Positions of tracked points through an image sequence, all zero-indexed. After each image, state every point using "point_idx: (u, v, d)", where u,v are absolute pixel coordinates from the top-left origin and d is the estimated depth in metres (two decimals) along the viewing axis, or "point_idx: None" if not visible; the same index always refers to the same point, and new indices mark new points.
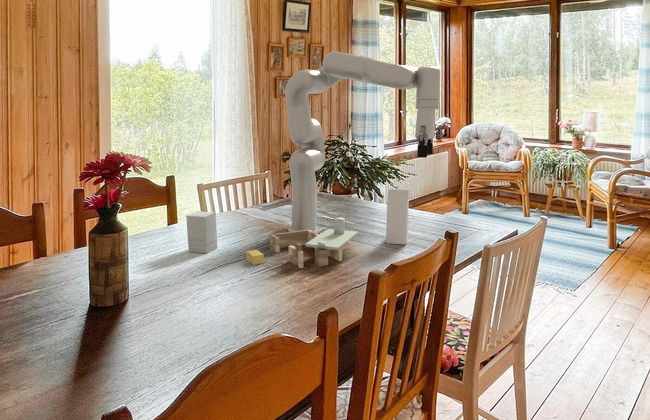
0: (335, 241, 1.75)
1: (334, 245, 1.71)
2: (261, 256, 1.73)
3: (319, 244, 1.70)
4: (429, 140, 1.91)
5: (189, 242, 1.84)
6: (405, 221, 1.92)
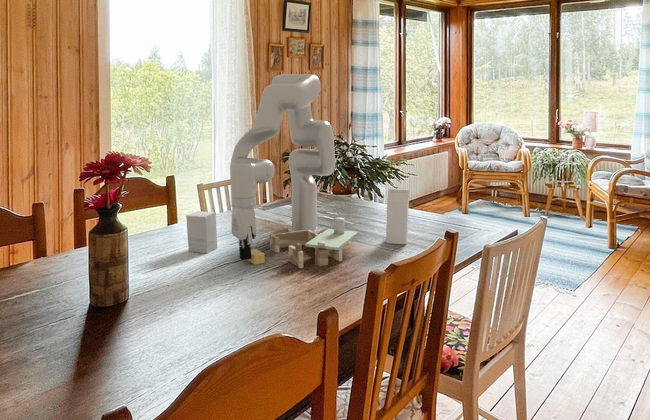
0: (335, 241, 1.75)
1: (334, 245, 1.71)
2: (262, 255, 1.73)
3: (319, 244, 1.70)
4: None
5: (189, 242, 1.84)
6: (405, 221, 1.92)
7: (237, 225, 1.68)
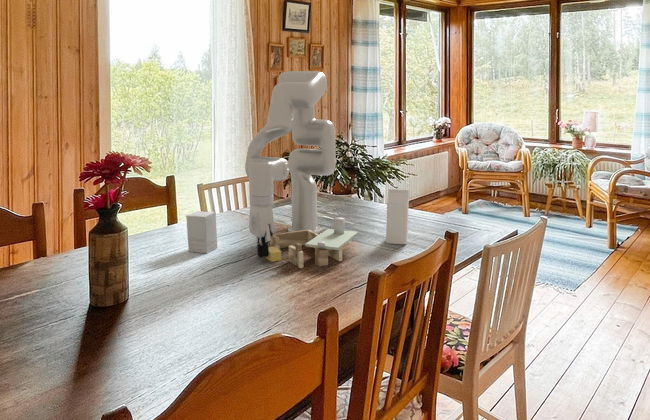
0: (335, 241, 1.75)
1: (334, 245, 1.71)
2: (279, 253, 1.76)
3: (319, 244, 1.70)
4: None
5: (189, 242, 1.84)
6: (405, 221, 1.92)
7: (255, 223, 1.71)
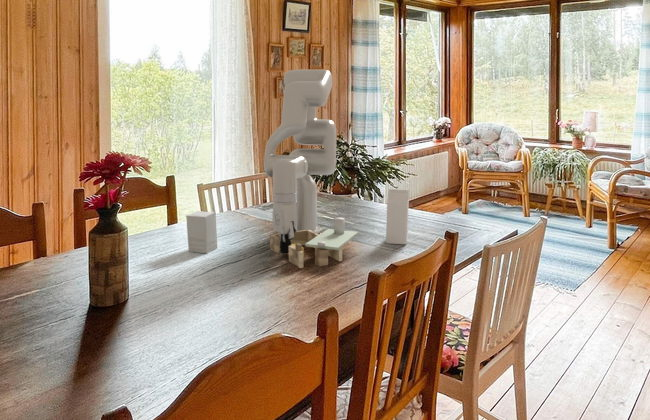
0: (335, 241, 1.75)
1: (334, 245, 1.71)
2: None
3: (319, 244, 1.70)
4: None
5: (189, 242, 1.84)
6: (405, 221, 1.92)
7: (279, 220, 1.75)
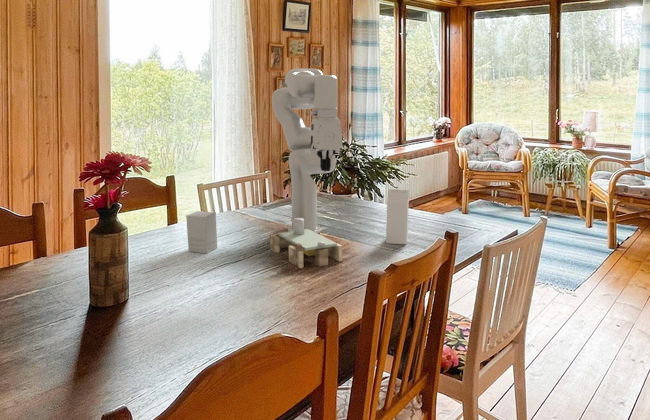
0: (318, 240, 1.77)
1: (329, 242, 1.74)
2: None
3: (322, 244, 1.70)
4: None
5: (189, 242, 1.84)
6: (405, 221, 1.92)
7: (334, 135, 1.78)
